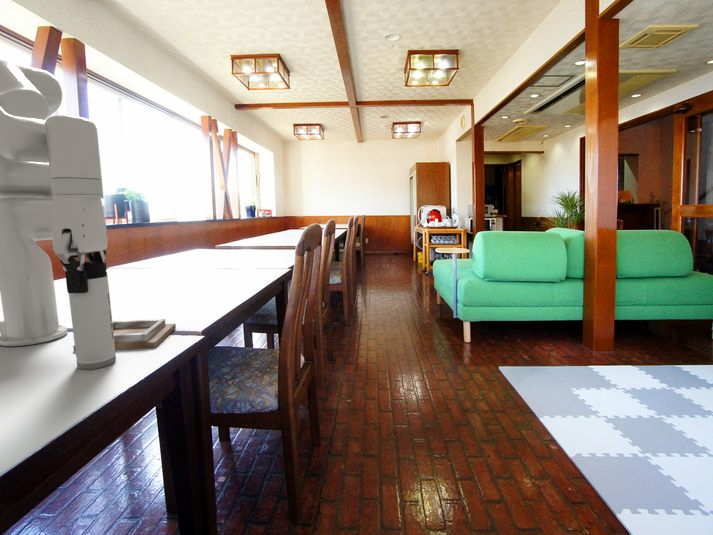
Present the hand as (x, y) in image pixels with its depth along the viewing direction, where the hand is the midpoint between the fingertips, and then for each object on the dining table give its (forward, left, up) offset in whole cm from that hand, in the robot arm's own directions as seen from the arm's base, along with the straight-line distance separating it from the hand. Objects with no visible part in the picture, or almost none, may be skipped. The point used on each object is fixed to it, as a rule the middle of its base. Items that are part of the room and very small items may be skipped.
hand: (88, 288), depth 76 cm
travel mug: (0, 0, -15) cm, 15 cm away
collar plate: (0, +15, -15) cm, 21 cm away
